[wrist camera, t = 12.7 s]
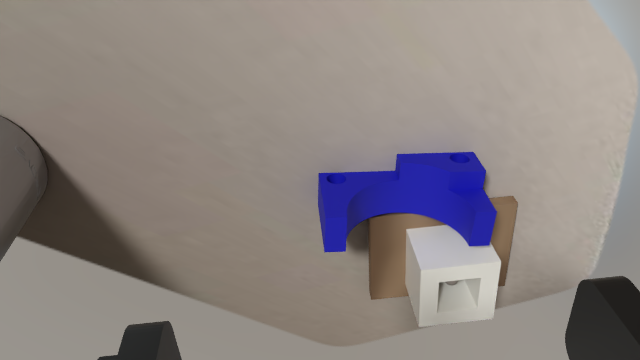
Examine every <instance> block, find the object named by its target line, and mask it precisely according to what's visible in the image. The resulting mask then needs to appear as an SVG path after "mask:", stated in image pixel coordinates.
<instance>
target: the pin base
mask: <svg viewBox="0 0 640 360" xmlns="http://www.w3.org/2000/svg"><path fill="white" fill-rule="evenodd" d="M489 200H490V201H491V203H492V204H493V206H494V208H495V209H496V211H497V214H496V219H495V223H494V227H493V232H492V236H491V240H490V242H491V244H492V246H493V248H494V249H495V251H496V253H497V255H498V257H499V258H500V260H501V267H500V274H499V281H498V286H505V279H506V273H507V267H508V261H509V254H510V248H511V242H512V236H513V229H514V223H515V217H516V211H517V204H518V202H517V201H516V200H515V198H514V197H513V196H508V197H498V198H489ZM442 225H446V224H444V223H443V222H440V221H438V220H436V219H433V218H430V217H427V216H423V215H418V214H412V213H386V214H380V215H376V216H373V217H370V218H368V241H369V290H370V296H371V300H373V299H382V298H392V297H401V296H409V294H408V291H407V288H406V284H405V274H406V229H413V228H423V227H432V226H442ZM458 281H459V280H456V281H447V282H445V283H446V284H448V285H455V284H457V282H458Z"/></svg>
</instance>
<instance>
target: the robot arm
mask: <svg viewBox="0 0 640 360" xmlns="http://www.w3.org/2000/svg"><path fill="white" fill-rule="evenodd" d="M47 182H48V180H47V167H46V163H45V159H44V157H43V156H42V154H41V152H40V150H39V148H38V147H37V145H36V144H35V143H34V141H33V140H32V139H31V138H30V137H29V136H28V135H27V134H26V133H25V132H24V131H23V130H22V129H20V128H19V127H18V126H17V125H15V124H13V123H12V122H10V121H9V120H7V119H5V118H3V117H1V116H0V261H1V259H2V258H3V256H4V255H5V253H6V252H7V250H8V249H9V247H10V246H11V244H12V242H13V241H14V239H15V238H16V236H17V235H18V233H19V232H20V230H21V229H22V227H23V226H24V224H25V222H26V221H27V219H28V218H29V216H30V214H31V213H32V211H33V210H34V208H35V206H36V205H37V203H38V202H39V200H40V198H41V197H42V195H43V194H44V192H45V189H46V185H47ZM565 343H566V349H567V353H568V356H569V359H570V360H640V292H639V290H638V289H637V288H636V287H635V286H634V284H633V283H632V282H631V281H630V280H629V279H628V278H626V277H623V276H616V277H606V278H597V279H587V280H582V281H581V282H580V283H579V285H578V288H577V292H576V295H575V300H574V303H573V307H572V311H571V315H570V318H569V322H568V326H567V329H566V334H565ZM98 360H182V359H181V356H180V352H179V349H178V346H177V342H176V339H175V335H174V332H173V328H172V326H171V324H170V322H169V321H164V322H154V323H144V324H135V325H129V326H128V327H127V328H126V330H125V332H124V335H123V339H122V342H121V345H120V348H119V352H118V355H114V356H104V357H99V359H98Z"/></svg>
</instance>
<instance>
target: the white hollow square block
mask: <svg viewBox="0 0 640 360" xmlns="http://www.w3.org/2000/svg"><path fill="white" fill-rule="evenodd" d="M500 267H501V260H500V258H499V257H498V255H497V253H496V251H495V249H494V248H493V246H492V244H491V242H490V245H489V246H469V245H468V244H467V242H466V241H465V239H464V238H463V237H462V236H461V235H460V234H459V233H458V232H457V231H456V230H454V229H453V228H451V227H450V226H448V225H442V226H432V227H423V228H413V229H406V274H405V284H406V288H407V291H408V294H409V297H410V301H411V304H412V307H413V310H414V313H415V317H416V320H417V323H418V326H419V327H426V326H435V325H444V324H453V323H462V322H471V321H479V320H488V319H493V316H494V309H495V302H496V295H497V288H498V281H499V274H500ZM456 280H459V281H458V282H457V284H455V285H448V284H446V283H445V282H447V281H456Z"/></svg>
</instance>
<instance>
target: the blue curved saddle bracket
mask: <svg viewBox="0 0 640 360" xmlns="http://www.w3.org/2000/svg"><path fill="white" fill-rule="evenodd" d="M485 174H486V170H485V169H484V167H483V166H482V164H481V163H480V161H479V160H478V158H477V157H476V155H475V154H474V152H458V153H421V154H397V160H396V169H395V171H378V172H344V173H319V185H318V207H319V215H320V222H321V229H322V237H323V244H324V251H325V252H343V251H346V239H347V236H348V234H349V233H350V231H351V230H352V229H353V228H354V227H355V226H356V225H357V224H359V223H360V222H362V221H364V220H365V219H368V218H370V217H373V216H376V215H380V214H386V213H412V214H418V215H423V216H427V217H430V218H433V219H436V220H438V221H440V222H443V223H444V224H446V225H448V226H450V227H451V228H453V229H454V230H456V231H457V232H458V233H459V234H460V235H461V236H462V237H463V238H464V239H465V241H466V242H467V244H468V245H469V246H489V245H490V240H491V236H492V232H493V227H494V223H495V219H496V214H497V211H496V209H495V208H494V206H493V204H492V203H491V201H490V200H489V198H488V196H487V195H486V193H485V191H484V190H483V184H484V179H485Z"/></svg>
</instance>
